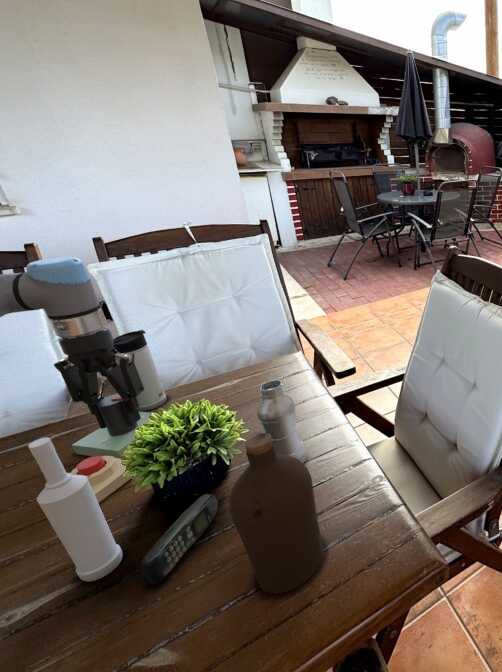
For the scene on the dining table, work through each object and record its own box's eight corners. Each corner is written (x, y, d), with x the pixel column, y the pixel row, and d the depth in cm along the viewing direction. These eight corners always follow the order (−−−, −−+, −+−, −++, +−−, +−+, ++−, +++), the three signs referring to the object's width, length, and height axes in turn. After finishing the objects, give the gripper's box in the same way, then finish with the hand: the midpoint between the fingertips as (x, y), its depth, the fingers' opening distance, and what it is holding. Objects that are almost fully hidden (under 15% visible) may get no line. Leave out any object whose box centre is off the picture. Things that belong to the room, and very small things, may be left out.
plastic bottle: (313, 464, 85) (295, 384, 78) (279, 483, 80) (256, 399, 73) (301, 449, 89) (283, 372, 82) (268, 466, 84) (246, 385, 77)
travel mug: (172, 400, 105) (148, 333, 98) (140, 414, 100) (113, 343, 93) (163, 393, 108) (139, 327, 101) (131, 406, 103) (104, 337, 96)
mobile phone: (152, 565, 60) (221, 483, 74) (132, 565, 60) (205, 482, 74) (163, 587, 62) (228, 502, 75) (143, 586, 62) (212, 502, 75)
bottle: (72, 588, 61) (0, 460, 52) (89, 558, 66) (25, 435, 57) (115, 575, 63) (53, 449, 54) (129, 546, 67) (73, 426, 59)
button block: (51, 499, 76) (42, 483, 75) (102, 463, 85) (96, 448, 83) (95, 505, 75) (87, 489, 74) (143, 469, 83) (137, 454, 82)
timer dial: (103, 437, 89) (90, 406, 86) (119, 423, 93) (107, 393, 90) (128, 434, 89) (115, 404, 87) (142, 421, 94) (131, 391, 91)
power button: (74, 475, 77) (70, 468, 77) (95, 461, 81) (92, 454, 80) (90, 477, 77) (86, 470, 76) (110, 463, 80) (107, 456, 79)
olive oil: (337, 565, 64) (310, 441, 56) (263, 615, 58) (219, 482, 49) (314, 522, 72) (287, 406, 63) (246, 562, 65) (206, 438, 56)
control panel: (75, 454, 87) (71, 444, 86) (132, 418, 98) (128, 409, 98) (122, 460, 86) (118, 450, 85) (174, 423, 97) (171, 414, 96)
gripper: (14, 343, 78) (61, 439, 86) (118, 336, 80) (154, 430, 89) (50, 326, 85) (90, 416, 93) (144, 321, 87) (175, 409, 95)
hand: (121, 423), depth 91 cm, fingers closed on timer dial, 5 cm apart
